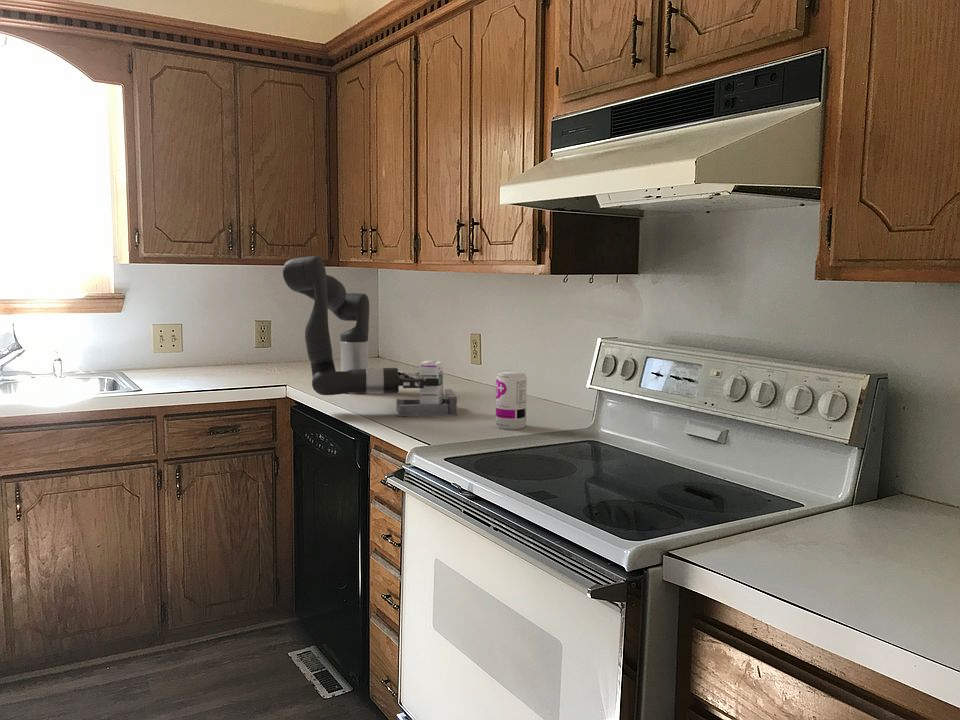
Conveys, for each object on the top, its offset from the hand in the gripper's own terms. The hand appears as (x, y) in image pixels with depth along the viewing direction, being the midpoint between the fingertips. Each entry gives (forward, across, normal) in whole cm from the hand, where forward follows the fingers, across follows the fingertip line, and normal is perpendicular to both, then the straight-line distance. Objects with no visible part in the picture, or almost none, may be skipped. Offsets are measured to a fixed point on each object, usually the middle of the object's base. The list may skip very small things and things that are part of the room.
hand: (437, 379), depth 239 cm
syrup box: (-2, 0, +9) cm, 9 cm away
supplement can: (+18, -24, +10) cm, 31 cm away
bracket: (-3, 0, +10) cm, 10 cm away
